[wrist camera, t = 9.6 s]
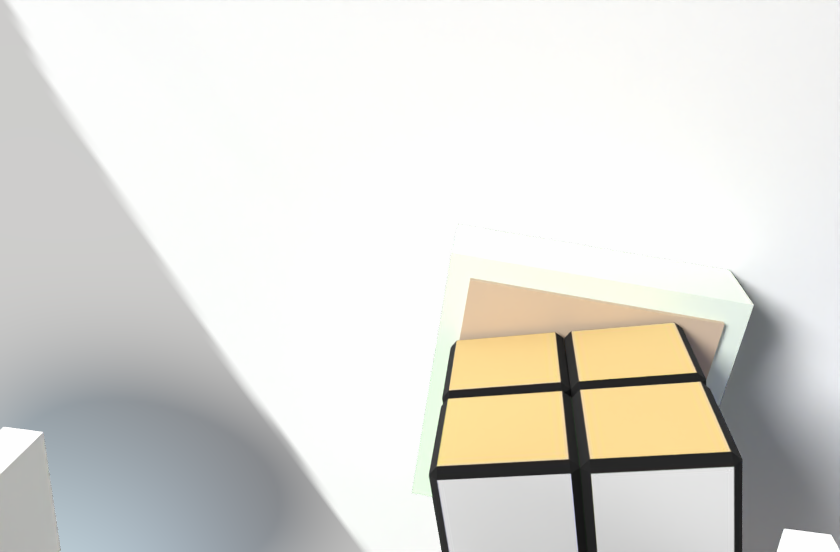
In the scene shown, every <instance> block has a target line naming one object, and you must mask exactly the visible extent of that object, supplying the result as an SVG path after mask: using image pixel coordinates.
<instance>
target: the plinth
mask: <svg viewBox="0 0 840 552" xmlns="http://www.w3.org/2000/svg"><path fill="white" fill-rule="evenodd" d="M753 306H754V304H753V303H752V301H751V300H750V299H749V297H748V296H747V294H746V293H745V291H744V290H743V289H742V287H741V286H740V284H739V283H738V281H737V280H736V278H735V277H734V276H733V274H732V273H731V271H730V270H725V269H719V268H713V267H708V266H702V265H696V264H690V263H684V262H678V261H672V260H666V259H660V258H655V257H649V256H643V255H637V254H631V253H625V252H619V251H613V250H607V249H602V248H596V247H590V246H584V245H578V244H572V243H566V242H560V241H555V240H549V239H543V238H537V237H531V236H525V235H519V234H513V233H507V232H502V231H496V230H490V229H484V228H478V227H472V226H466V225H460V224H458V227H457V231H456V235H455V239H454V244H453V248H452V252H451V258H450V264H449V270H448V276H447V282H446V288H445V294H444V300H443V306H442V312H441V318H440V325H439V331H438V337H437V343H436V349H435V355H434V361H433V367H432V373H431V379H430V385H429V391H428V398H427V404H426V410H425V416H424V422H423V428H422V434H421V440H420V446H419V452H418V458H417V464H416V471H415V477H414V483H413V489H412V493H415V494H420V495H425V496H430V497H432V492H431V486H430V480H429V470H430V465H431V459H432V453H433V448H434V442H435V437H436V431H437V426H438V420H439V415H440V409H441V406H442V405H443V401H442V396H443V390H444V384H445V378H446V372H447V366H448V360H449V354H450V348H451V346H452V345H453V344H454V343H455V342H456V341H457V340H469V339H481V338H493V337H504V336H516V335H528V334H540V333H552V332H556V333H557V334H559V335H560V336H561V337H563V339H564V338H565V337H566V336H567V335H568V334H569V333H570V332H571V331H578V330H590V329H602V328H614V327H626V326H637V325H649V324H661V323H673V322H675V323H676V324H677V325H679V326H680V327H681V328H683V330H684V333H685V335H686V337H687V339H688V341H689V343H690V345H691V348H692V350H693V352H694V354H695V356H696V358H697V361H698V363H699V365H700V367H701V369H702V371H703V373H704V376H705V378H706V386H707V387H709V388H710V389H711V392H712V394H713V396H714V398H715V400H716V403H717V405H718V407H719V406H720V403H721V400H722V397H723V394H724V391H725V388H726V385H727V382H728V379H729V376H730V373H731V371H732V368H733V365H734V362H735V359H736V356H737V353H738V350H739V347H740V344H741V341H742V338H743V335H744V332H745V330H746V327H747V324H748V321H749V318H750V315H751V312H752V309H753ZM564 347H565V343H564ZM565 354H566V353H565Z"/></svg>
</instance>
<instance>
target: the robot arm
mask: <svg viewBox="0 0 840 552" xmlns="http://www.w3.org/2000/svg"><path fill="white" fill-rule="evenodd" d="M60 550H61V549H60V542H59V535H58V529H57V522H56V515H55V508H54V502H53V495H52V488H51V481H50V474H49V468H48V461H47V454H46V447H45V441H44V434H43V432H39V431H31V430H23V429H15V428H8V427H3V428H2V429H1V430H0V552H60ZM777 552H840V550H839V548H838V546H837V544H836V542H835V540H834V539H833V537H832V535H830V534H822V533H815V532H807V531H799V530H792V529H784V530H783V533H782V537H781V540H780V543H779V546H778V549H777Z"/></svg>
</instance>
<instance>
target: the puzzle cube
mask: <svg viewBox="0 0 840 552" xmlns="http://www.w3.org/2000/svg"><path fill="white" fill-rule="evenodd" d="M564 343H565V347H564ZM565 353H566V354H565ZM442 401H443V405H442V406H441V409H440V415H439V420H438V426H437V431H436V437H435V442H434V448H433V453H432V459H431V465H430V470H429V480H430V486H431V492H432V498H433V503H434V509H435V515H436V521H437V527H438V532H439V538H440V544H441V550H442V552H742V458H741V456H740V454H739V451H738V449H737V447H736V445H735V442H734V440H733V438H732V436H731V434H730V431H729V429H728V427H727V425H726V423H725V420H724V418H723V416H722V414H721V412H720V409H719V407H718V405H717V403H716V400H715V398H714V396H713V394H712V392H711V389H710V388H709V387H707V386H706V378H705V376H704V373H703V371H702V369H701V367H700V365H699V363H698V361H697V358H696V356H695V354H694V352H693V350H692V348H691V345H690V343H689V341H688V339H687V337H686V335H685V333H684V330H683V328H681V327H680V326H679V325H677V324H676V323H675V322H673V323H661V324H649V325H637V326H626V327H614V328H602V329H590V330H578V331H571V332H570V333H569V334H568V335H567V336H566V337H565V338H564V339H563V337H561V336H560V335H559V334H557V333H556V332H552V333H540V334H528V335H516V336H504V337H493V338H481V339H469V340H457V341H456V342H455V343H454V344H453V345H452V346H451V348H450V354H449V360H448V366H447V372H446V378H445V384H444V390H443V396H442Z"/></svg>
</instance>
